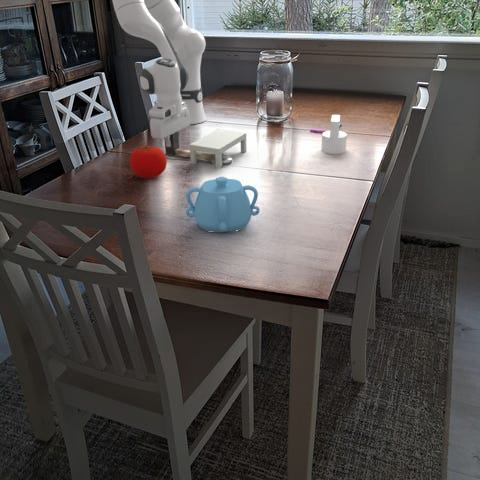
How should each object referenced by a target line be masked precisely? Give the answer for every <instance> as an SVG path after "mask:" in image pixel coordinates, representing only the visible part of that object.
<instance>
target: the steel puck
mask: <svg viewBox="0 0 480 480" xmlns="http://www.w3.org/2000/svg"><path fill="white" fill-rule="evenodd" d="M232 163H233V157H232V156H229V155H223V156H222V166H229V165H231V164H232Z"/></svg>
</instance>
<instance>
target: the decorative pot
mask: <svg viewBox="0 0 480 480" xmlns="http://www.w3.org/2000/svg"><path fill="white" fill-rule="evenodd" d="M247 191H251V192H253V199H252V201H250V199H249V196H248V195H249V194H247ZM194 192H195V193H196V192H198V193H197V196H196V199H195V203H193V201H192V198H191V194H192V193H194ZM258 197H259V192H258V190H257V188H255V187H254V186H252V185H250V184H248V185H247V184H246V185H243V184H242V181H240V180H238V179H234V178H227V177H225V176H218V177H216V178H215V179H209V180H206V181H204V182H203V183H202V185H201V187H200V186H199V187H198V186H197V187H196V186H195V187H191V188H190V189H188V190H187V192H186V197H185V198H186V202H187V203H188V204H187V205H188V206H189V207H188V208H187V209H186V210H185V213H186V214H185V215H186V216H187V217H188V218H194V220H195V222H196V224H197V225H198V226H199V228H201V229H202V230H204V231H206V232H207V231H214V232H213V233H215V232H216V233H224V232H225V233H227V232H233V231H236V230H239V229H240V230H242V229H244V228H246V226H247V225H248V224H249V223H250V221H251V218H252V217H253V216H257V215H259V213H260V212H261V211H260V207H259V206H257V205H256V203H257V200H258ZM250 202H251V203H250ZM254 210H255V211H254ZM190 211H192V212H190ZM240 230H239V231H240Z"/></svg>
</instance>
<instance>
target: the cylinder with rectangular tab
mask: <svg viewBox="0 0 480 480" xmlns="http://www.w3.org/2000/svg"><path fill="white" fill-rule="evenodd" d="M340 120H341V115H340V114H332V115H331V119H330V129H329V130H325V131H326V132H323V133H321V151H322V152H323V153H326V154H330V155H338V154H339V155H340V154H343V153H345V152H346V150H347V138H348V134H347V133H346V132H345V131H341V130H340V126H341V125H340V123H341V121H340ZM339 125H340V126H339Z"/></svg>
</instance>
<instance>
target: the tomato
mask: <svg viewBox="0 0 480 480" xmlns="http://www.w3.org/2000/svg"><path fill="white" fill-rule="evenodd" d="M167 161H168V159H167V154H166V153H165V151H163V150H162V148H160V147H158V146H157V147H156V146H152V145H149V144H147V145H142V146H139V147H136V148H135V149H134V150H133V151H132V153H131V155H130V157H129V167H130V170H132V172H133V174H135V175H136V176H137V177H140V178H141V179H155V178H157V177H158V176H160V175H162V174H163V173H164V171H165V169H166V168H167V164H168V162H167Z"/></svg>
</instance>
